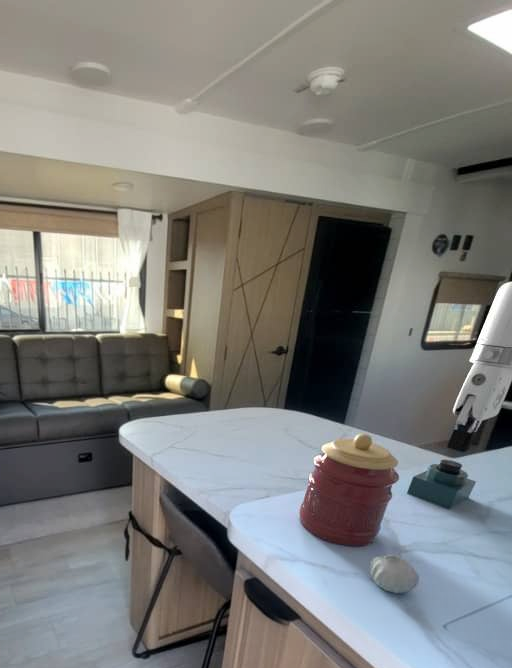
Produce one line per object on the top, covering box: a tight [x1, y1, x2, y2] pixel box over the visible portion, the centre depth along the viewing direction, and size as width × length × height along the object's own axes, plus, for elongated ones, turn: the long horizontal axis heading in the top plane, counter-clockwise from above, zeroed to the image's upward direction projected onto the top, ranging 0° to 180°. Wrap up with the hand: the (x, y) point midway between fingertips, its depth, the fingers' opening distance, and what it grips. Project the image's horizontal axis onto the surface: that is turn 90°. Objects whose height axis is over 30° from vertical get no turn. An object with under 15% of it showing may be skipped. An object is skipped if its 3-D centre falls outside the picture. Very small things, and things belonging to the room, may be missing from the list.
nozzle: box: [438, 459, 463, 475], centre depth 84 cm, size 4×4×2 cm
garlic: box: [369, 554, 420, 594], centre depth 57 cm, size 6×5×5 cm
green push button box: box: [406, 463, 477, 510], centre depth 85 cm, size 10×8×6 cm
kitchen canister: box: [299, 433, 400, 547], centre depth 69 cm, size 13×13×18 cm
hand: (457, 449), depth 82 cm, fingers closed
